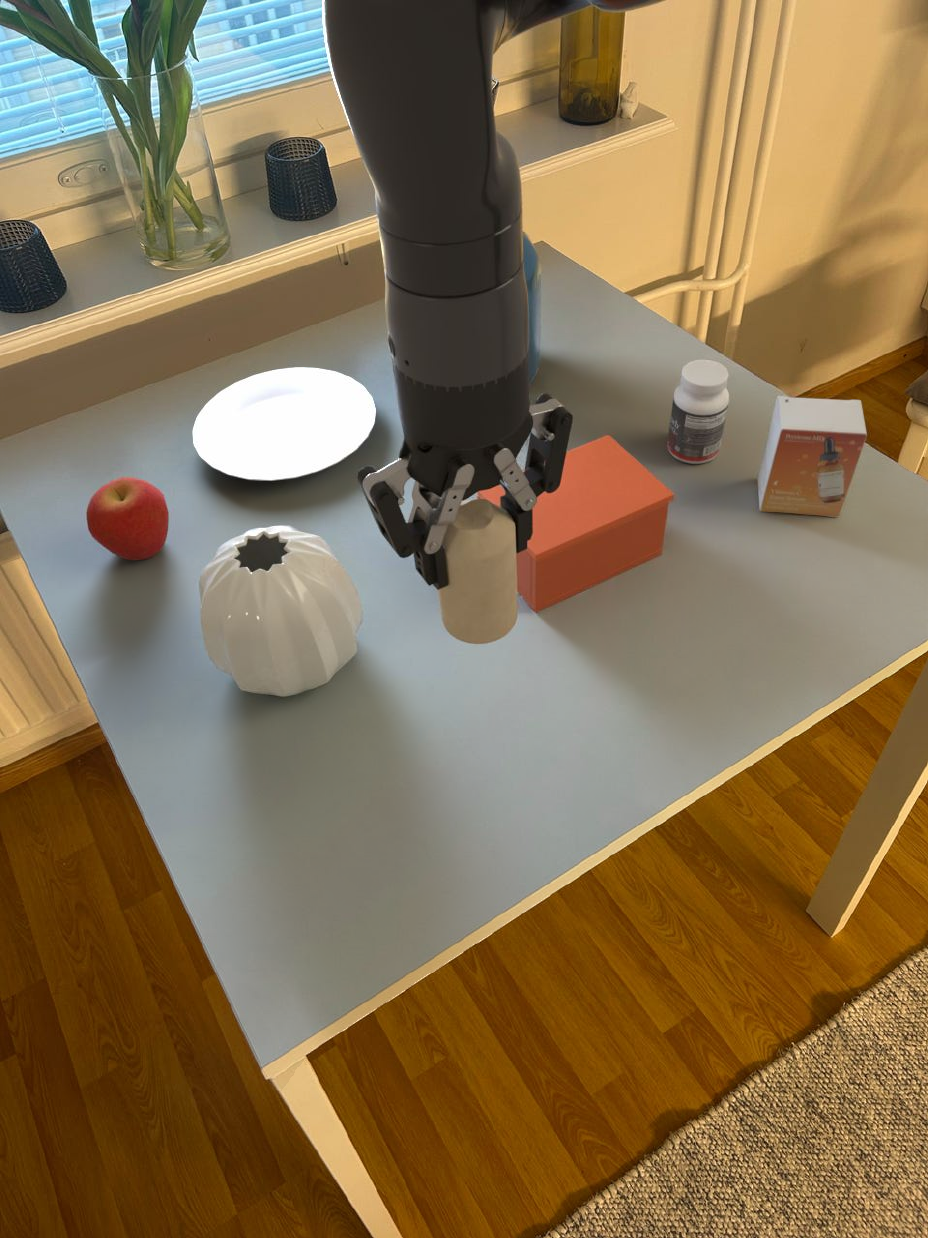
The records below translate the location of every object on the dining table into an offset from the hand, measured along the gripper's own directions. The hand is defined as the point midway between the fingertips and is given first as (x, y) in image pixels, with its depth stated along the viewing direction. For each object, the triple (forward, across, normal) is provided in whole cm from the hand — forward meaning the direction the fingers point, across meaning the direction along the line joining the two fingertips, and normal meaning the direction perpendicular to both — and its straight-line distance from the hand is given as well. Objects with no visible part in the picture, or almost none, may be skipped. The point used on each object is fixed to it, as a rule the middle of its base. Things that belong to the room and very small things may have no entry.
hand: (476, 561), depth 63 cm
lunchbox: (+21, +18, +15) cm, 32 cm away
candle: (+6, 0, 0) cm, 6 cm away
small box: (+22, +42, +8) cm, 48 cm away
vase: (+21, -11, +18) cm, 29 cm away
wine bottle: (+21, +27, +46) cm, 57 cm away
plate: (+21, +2, +48) cm, 53 cm away
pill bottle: (+21, +38, +20) cm, 49 cm away
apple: (+21, -18, +40) cm, 48 cm away
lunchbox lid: (+14, +19, +15) cm, 28 cm away
